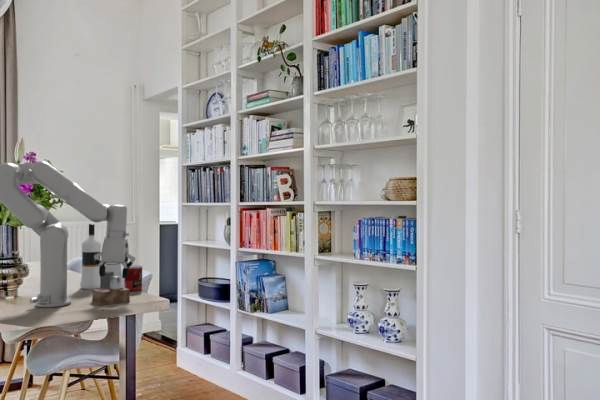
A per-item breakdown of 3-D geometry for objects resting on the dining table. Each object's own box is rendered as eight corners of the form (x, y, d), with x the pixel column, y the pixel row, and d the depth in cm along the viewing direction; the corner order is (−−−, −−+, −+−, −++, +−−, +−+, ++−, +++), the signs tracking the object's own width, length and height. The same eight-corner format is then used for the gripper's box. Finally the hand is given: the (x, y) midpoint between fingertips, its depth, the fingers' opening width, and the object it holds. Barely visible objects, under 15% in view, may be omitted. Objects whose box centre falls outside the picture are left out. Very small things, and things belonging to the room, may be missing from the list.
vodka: (79, 290, 241) (80, 224, 241) (80, 286, 249) (81, 223, 249) (101, 289, 244) (102, 224, 244) (101, 286, 253) (102, 223, 253)
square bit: (109, 296, 226) (109, 273, 226) (100, 296, 226) (100, 272, 226) (113, 294, 230) (113, 272, 230) (104, 294, 230) (104, 271, 230)
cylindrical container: (115, 293, 234) (115, 236, 234) (100, 292, 236) (101, 236, 236) (123, 290, 241) (124, 235, 241) (109, 289, 243) (109, 235, 243)
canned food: (135, 292, 238) (135, 267, 238) (120, 290, 241) (120, 266, 241) (145, 289, 245) (145, 265, 245) (131, 288, 248) (131, 264, 248)
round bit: (115, 302, 214) (116, 277, 214) (108, 301, 215) (108, 277, 215) (122, 300, 217) (123, 276, 217) (114, 299, 219) (115, 275, 219)
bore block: (99, 305, 208) (99, 292, 208) (92, 301, 215) (92, 289, 215) (129, 301, 215) (129, 289, 215) (121, 298, 222) (121, 286, 222)
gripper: (140, 235, 219) (137, 277, 218) (100, 233, 221) (97, 274, 220) (132, 236, 211) (129, 279, 211) (91, 234, 213) (88, 276, 213)
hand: (113, 276), depth 216 cm, fingers open, 9 cm apart
